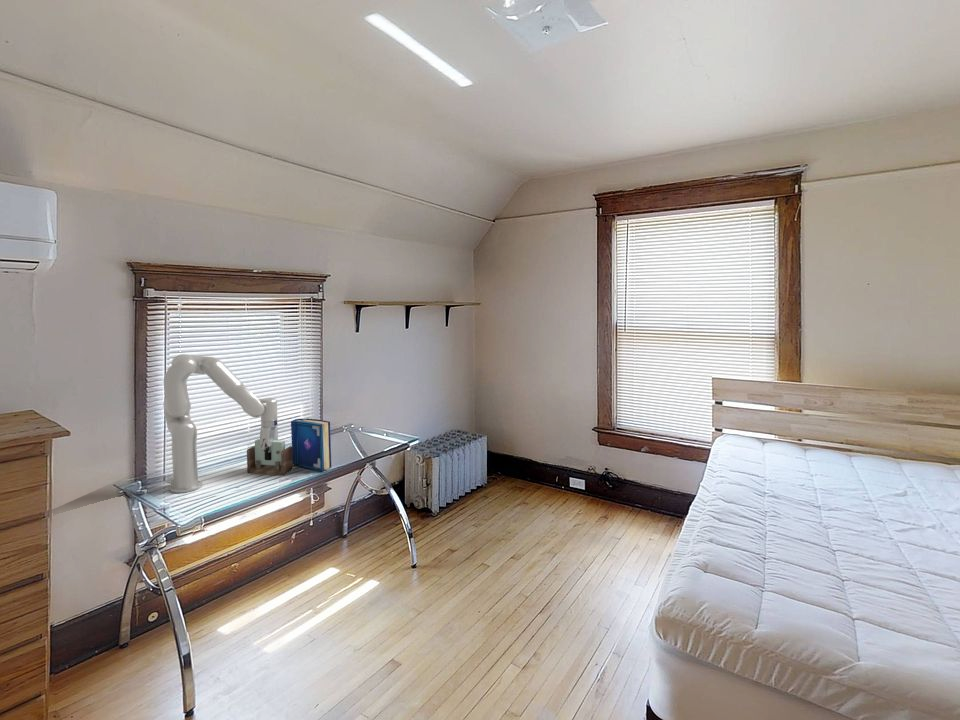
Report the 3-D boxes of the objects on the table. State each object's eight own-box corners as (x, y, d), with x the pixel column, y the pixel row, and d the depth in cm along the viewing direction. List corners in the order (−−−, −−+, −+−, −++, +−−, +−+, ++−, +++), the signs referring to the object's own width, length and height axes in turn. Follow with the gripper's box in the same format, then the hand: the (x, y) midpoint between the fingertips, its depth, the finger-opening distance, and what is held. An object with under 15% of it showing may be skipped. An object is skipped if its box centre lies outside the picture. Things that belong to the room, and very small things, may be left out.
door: (254, 464, 241) (253, 441, 239) (258, 462, 244) (257, 439, 243) (281, 466, 239) (281, 442, 238) (285, 463, 243) (284, 440, 242)
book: (289, 465, 251) (288, 418, 248) (299, 461, 258) (299, 416, 255) (322, 472, 243) (322, 424, 240) (332, 468, 250) (331, 421, 246)
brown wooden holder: (247, 473, 239) (246, 449, 238) (257, 467, 248) (256, 444, 247) (284, 475, 238) (284, 451, 236) (292, 469, 247) (292, 446, 245)
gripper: (270, 418, 248) (271, 453, 250) (253, 426, 232) (253, 463, 234) (284, 419, 248) (285, 454, 250) (268, 427, 231) (268, 464, 234)
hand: (270, 458), depth 242 cm, fingers closed on door, 3 cm apart
